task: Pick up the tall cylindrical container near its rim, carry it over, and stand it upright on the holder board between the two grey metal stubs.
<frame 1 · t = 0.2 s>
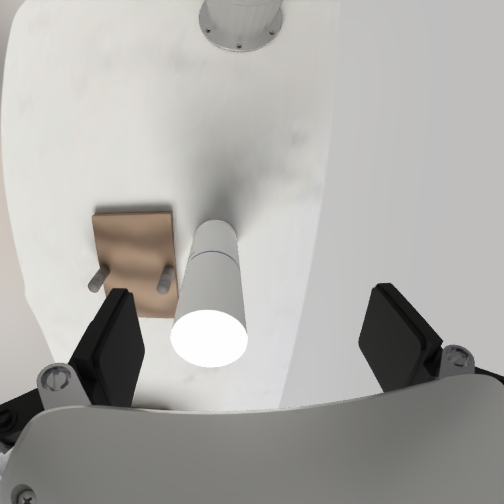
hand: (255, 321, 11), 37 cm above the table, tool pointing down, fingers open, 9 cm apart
holder board: (137, 266, 50), on the table
cylindrical container: (215, 239, 49), on the table
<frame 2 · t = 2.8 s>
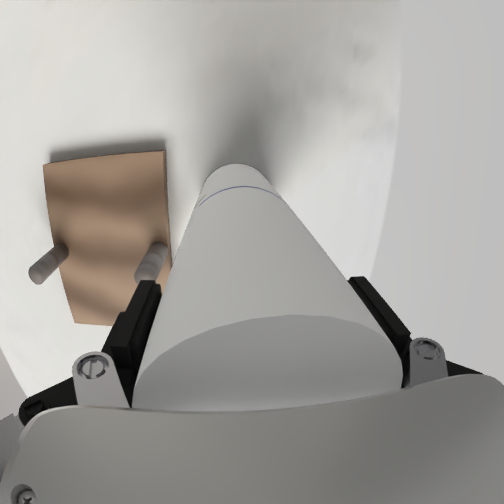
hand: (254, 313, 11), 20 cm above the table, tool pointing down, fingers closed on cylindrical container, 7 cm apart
holder board: (110, 245, 30), on the table
cylindrical container: (236, 198, 30), on the table, touching gripper
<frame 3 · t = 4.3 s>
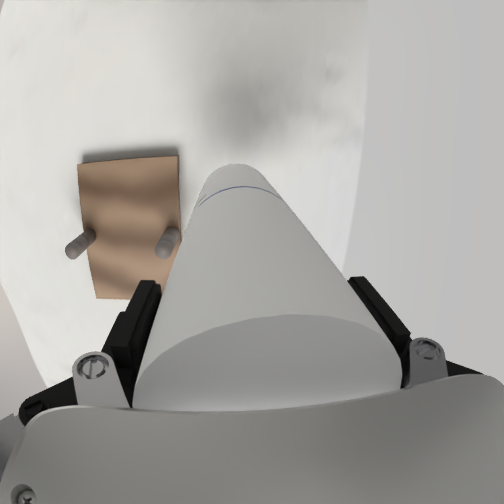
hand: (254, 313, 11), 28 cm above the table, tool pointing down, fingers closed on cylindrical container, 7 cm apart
holder board: (132, 231, 38), on the table
cylindrical container: (236, 198, 30), point 8 cm above the table, touching gripper
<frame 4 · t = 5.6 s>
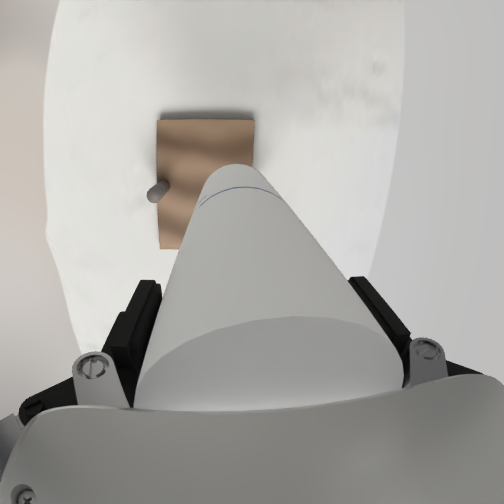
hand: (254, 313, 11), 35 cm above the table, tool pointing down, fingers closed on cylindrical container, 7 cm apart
holder board: (204, 184, 44), on the table
cylindrical container: (236, 198, 30), point 15 cm above the table, touching gripper
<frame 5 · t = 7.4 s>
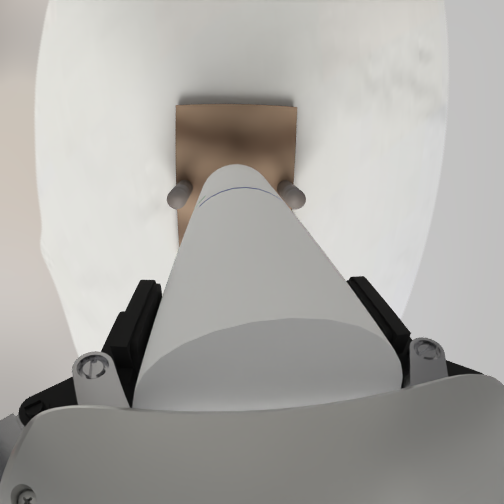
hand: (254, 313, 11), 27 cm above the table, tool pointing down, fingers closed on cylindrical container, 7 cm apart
holder board: (234, 185, 36), on the table
cylindrical container: (236, 198, 30), point 7 cm above the table, touching gripper
when the fingers open (23 cm above the table, at t = 8.8 s): cylindrical container drops 1 cm, resting on holder board.
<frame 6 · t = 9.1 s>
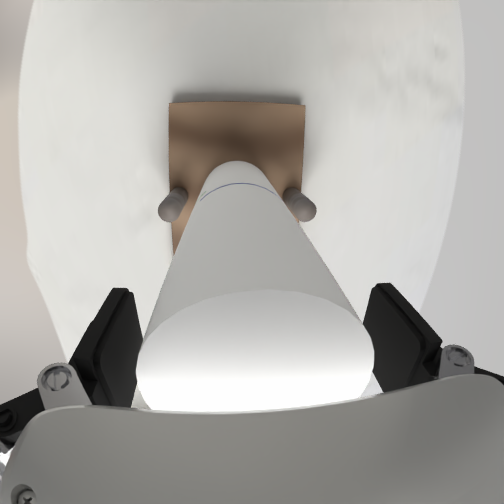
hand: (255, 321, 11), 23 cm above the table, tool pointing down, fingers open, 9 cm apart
holder board: (235, 192, 32), on the table
cylindrical container: (236, 193, 31), point 1 cm above the table, touching holder board
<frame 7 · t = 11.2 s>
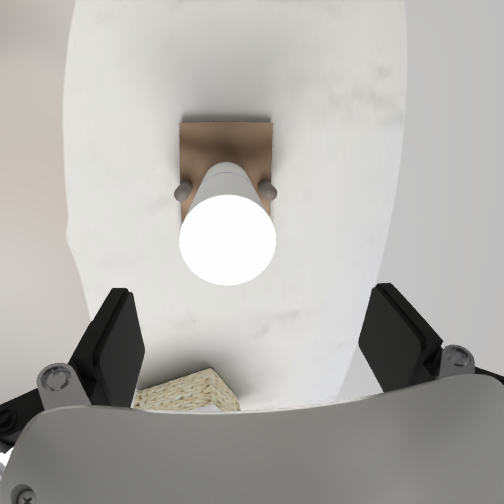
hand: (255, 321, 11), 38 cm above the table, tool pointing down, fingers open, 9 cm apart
storage basket: (189, 395, 65), on the table
holder board: (225, 184, 46), on the table
cylindrical container: (226, 184, 45), point 1 cm above the table, touching holder board
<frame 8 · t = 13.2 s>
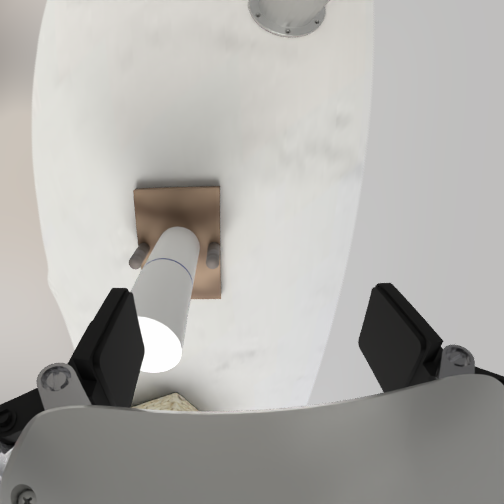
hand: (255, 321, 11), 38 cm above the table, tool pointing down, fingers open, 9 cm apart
storage basket: (163, 414, 69), on the table
holder board: (179, 244, 50), on the table
cylindrical container: (178, 246, 49), point 1 cm above the table, touching holder board
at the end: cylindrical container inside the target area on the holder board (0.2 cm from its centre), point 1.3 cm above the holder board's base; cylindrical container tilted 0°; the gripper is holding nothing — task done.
